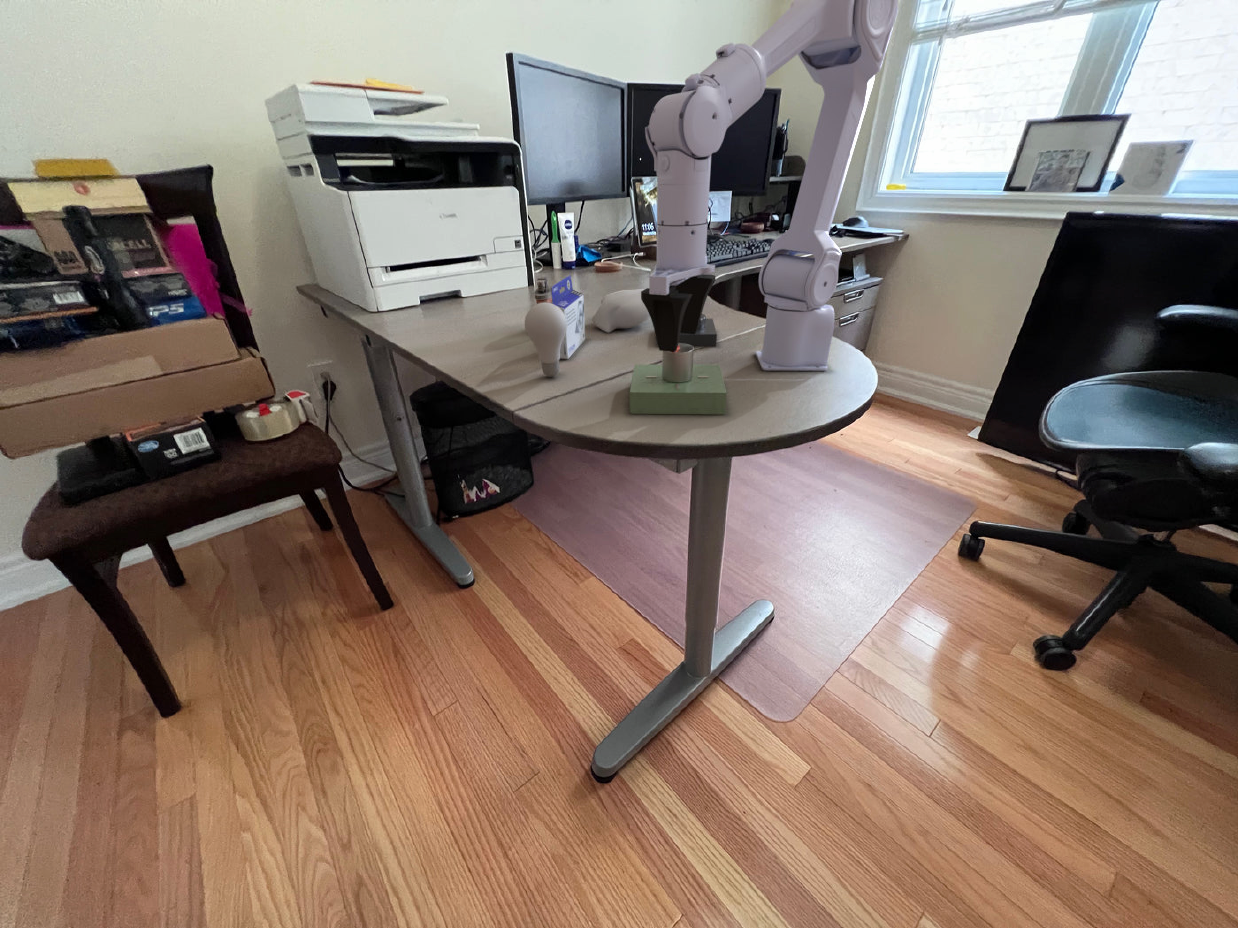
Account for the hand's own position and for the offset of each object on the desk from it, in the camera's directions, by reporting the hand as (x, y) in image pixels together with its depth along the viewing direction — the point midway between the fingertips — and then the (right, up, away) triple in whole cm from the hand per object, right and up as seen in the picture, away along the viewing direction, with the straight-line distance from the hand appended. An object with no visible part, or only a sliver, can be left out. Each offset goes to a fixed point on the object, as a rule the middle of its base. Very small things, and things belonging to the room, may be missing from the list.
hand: (678, 341), depth 63 cm
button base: (+5, +7, +27) cm, 28 cm away
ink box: (-16, +4, +24) cm, 29 cm away
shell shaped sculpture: (-6, +12, +36) cm, 38 cm away
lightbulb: (-18, -2, +13) cm, 22 cm away
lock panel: (0, -7, +4) cm, 8 cm away
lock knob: (0, -4, +2) cm, 5 cm away
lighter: (-22, +11, +34) cm, 42 cm away
